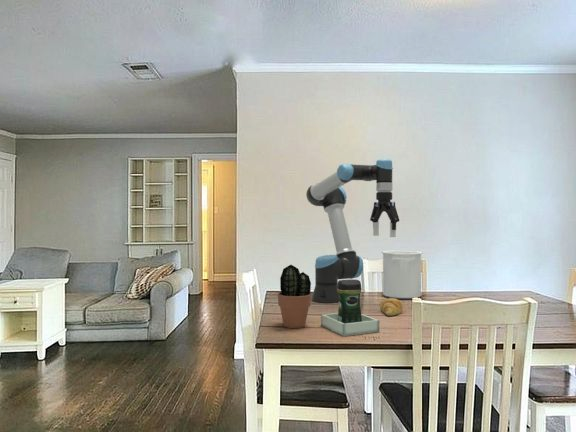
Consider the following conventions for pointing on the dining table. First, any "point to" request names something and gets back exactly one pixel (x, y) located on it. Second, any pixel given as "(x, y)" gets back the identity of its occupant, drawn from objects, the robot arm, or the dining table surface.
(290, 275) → the potted plant
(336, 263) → the robot arm
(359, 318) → the coffee jar
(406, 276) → the bucket
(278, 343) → the dining table surface
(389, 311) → the croissant
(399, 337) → the dining table surface
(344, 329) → the bin
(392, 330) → the dining table surface
